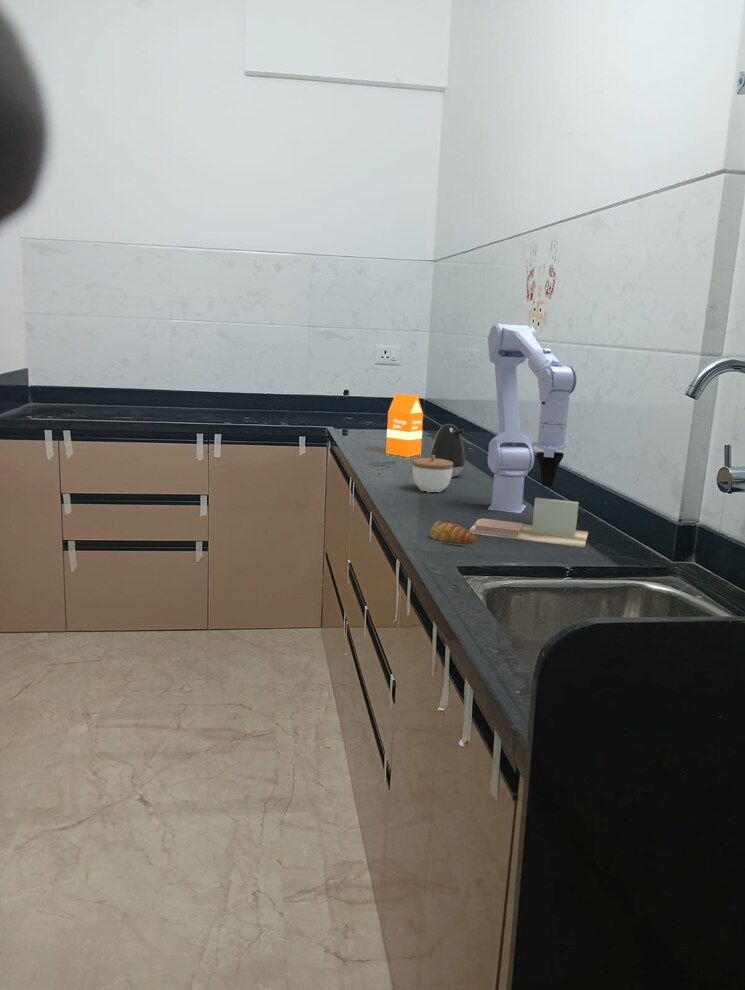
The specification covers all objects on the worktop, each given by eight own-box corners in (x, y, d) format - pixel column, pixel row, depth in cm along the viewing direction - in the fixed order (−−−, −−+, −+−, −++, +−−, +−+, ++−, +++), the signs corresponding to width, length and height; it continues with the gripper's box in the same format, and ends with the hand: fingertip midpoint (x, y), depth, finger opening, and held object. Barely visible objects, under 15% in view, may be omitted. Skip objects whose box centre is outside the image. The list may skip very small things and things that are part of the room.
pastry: (482, 544, 169) (483, 525, 168) (466, 550, 163) (468, 532, 162) (441, 535, 174) (442, 517, 173) (425, 541, 168) (426, 523, 167)
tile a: (481, 518, 181) (475, 525, 174) (523, 523, 178) (518, 530, 172) (481, 524, 181) (475, 531, 175) (522, 529, 179) (518, 536, 172)
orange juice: (398, 452, 280) (402, 393, 276) (420, 456, 275) (424, 395, 271) (385, 455, 273) (388, 394, 269) (407, 458, 268) (411, 396, 264)
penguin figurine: (447, 480, 234) (450, 426, 231) (421, 474, 241) (424, 422, 238) (471, 477, 240) (475, 425, 237) (445, 471, 248) (449, 420, 245)
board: (478, 521, 187) (478, 518, 187) (588, 534, 180) (588, 531, 180) (466, 535, 174) (466, 532, 174) (584, 550, 167) (584, 547, 167)
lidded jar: (448, 496, 213) (451, 460, 211) (407, 492, 215) (409, 456, 213) (453, 488, 223) (456, 454, 221) (414, 484, 225) (416, 450, 223)
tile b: (532, 529, 180) (535, 497, 178) (575, 534, 177) (578, 502, 176) (532, 530, 178) (535, 498, 177) (574, 535, 176) (578, 503, 174)
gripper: (536, 418, 185) (530, 478, 188) (531, 425, 171) (525, 489, 174) (568, 420, 183) (562, 481, 186) (566, 428, 169) (560, 493, 172)
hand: (547, 485), depth 180 cm, fingers closed
